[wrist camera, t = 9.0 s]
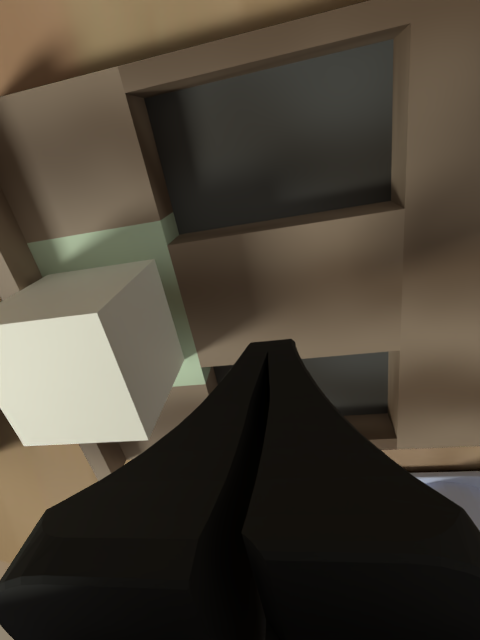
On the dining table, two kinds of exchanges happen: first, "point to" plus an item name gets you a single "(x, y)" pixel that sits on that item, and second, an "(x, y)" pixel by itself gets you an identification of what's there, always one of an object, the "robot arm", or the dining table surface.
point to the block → (88, 355)
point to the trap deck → (278, 207)
